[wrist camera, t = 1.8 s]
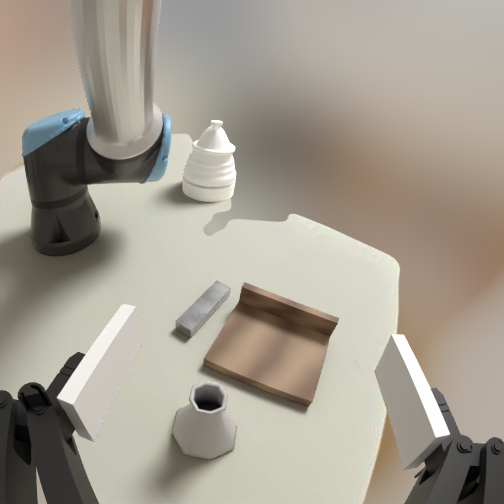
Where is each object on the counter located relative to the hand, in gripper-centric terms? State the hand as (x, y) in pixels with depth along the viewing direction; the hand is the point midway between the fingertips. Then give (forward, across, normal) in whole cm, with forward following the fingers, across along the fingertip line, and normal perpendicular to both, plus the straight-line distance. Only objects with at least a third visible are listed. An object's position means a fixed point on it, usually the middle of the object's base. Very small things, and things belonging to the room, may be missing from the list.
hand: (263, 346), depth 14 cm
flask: (+6, -4, -20) cm, 21 cm away
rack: (+19, +2, -17) cm, 25 cm away
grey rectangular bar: (+23, -8, -16) cm, 29 cm away
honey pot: (+60, -15, -6) cm, 62 cm away
